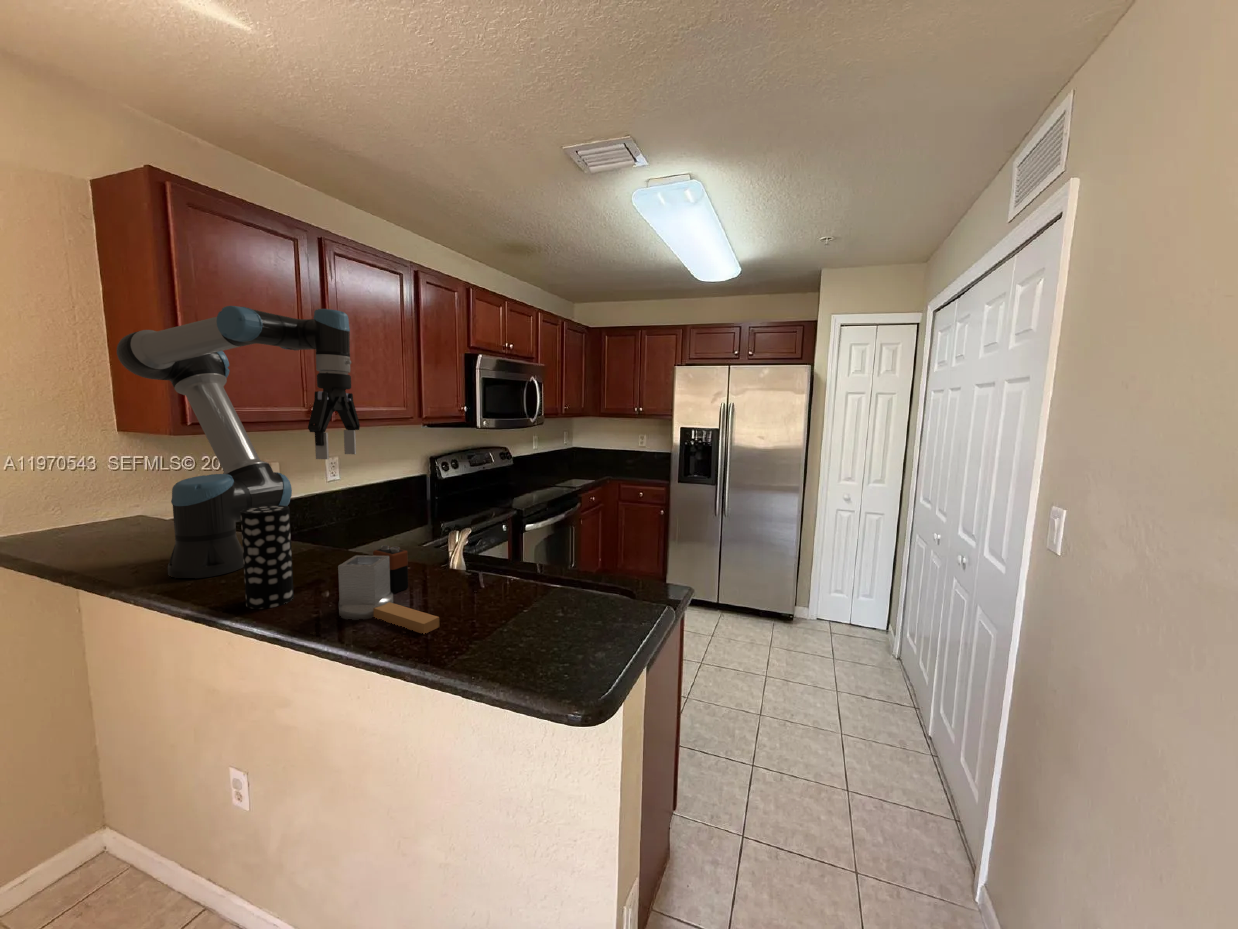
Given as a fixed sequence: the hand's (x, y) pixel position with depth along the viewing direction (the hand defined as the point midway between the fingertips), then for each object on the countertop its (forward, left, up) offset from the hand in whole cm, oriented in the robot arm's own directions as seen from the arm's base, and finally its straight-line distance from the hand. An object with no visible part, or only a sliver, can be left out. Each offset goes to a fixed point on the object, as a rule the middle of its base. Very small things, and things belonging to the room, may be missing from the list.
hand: (337, 456), depth 126 cm
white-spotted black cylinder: (-2, -25, -29) cm, 38 cm away
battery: (+20, -17, -29) cm, 39 cm away
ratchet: (+26, -33, -29) cm, 51 cm away
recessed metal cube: (+20, -29, -26) cm, 44 cm away
